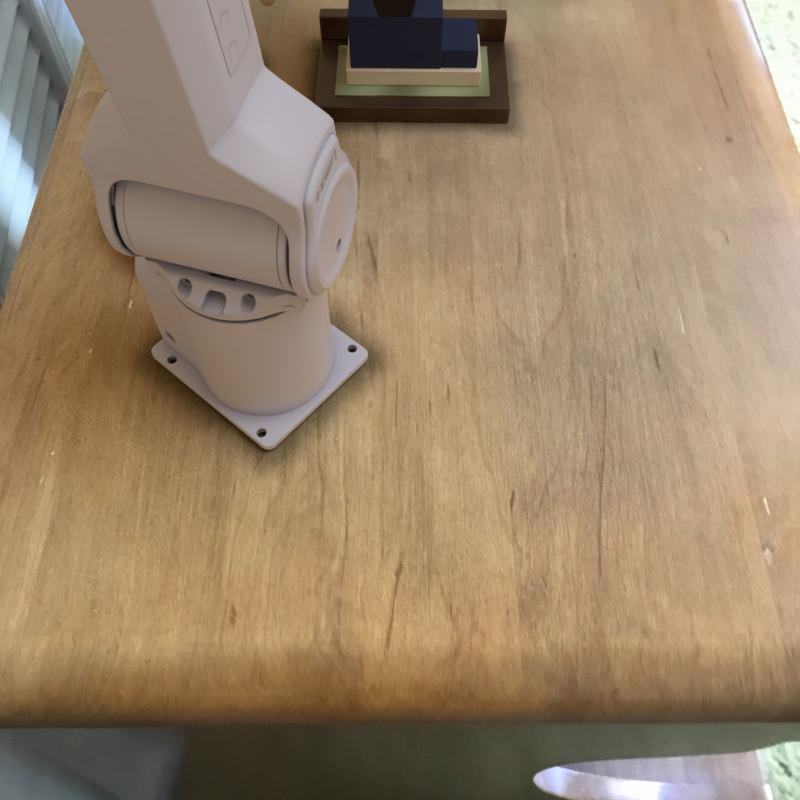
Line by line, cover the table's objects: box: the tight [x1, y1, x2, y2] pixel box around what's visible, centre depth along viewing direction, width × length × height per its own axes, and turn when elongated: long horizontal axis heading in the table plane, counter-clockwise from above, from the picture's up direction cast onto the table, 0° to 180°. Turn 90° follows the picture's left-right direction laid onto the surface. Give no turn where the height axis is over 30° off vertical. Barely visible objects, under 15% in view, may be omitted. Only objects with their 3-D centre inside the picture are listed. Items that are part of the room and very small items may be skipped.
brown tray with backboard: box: [314, 8, 511, 124], centre depth 57 cm, size 13×8×3 cm, turn 89°
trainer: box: [346, 0, 481, 86], centre depth 55 cm, size 9×4×5 cm, turn 89°
